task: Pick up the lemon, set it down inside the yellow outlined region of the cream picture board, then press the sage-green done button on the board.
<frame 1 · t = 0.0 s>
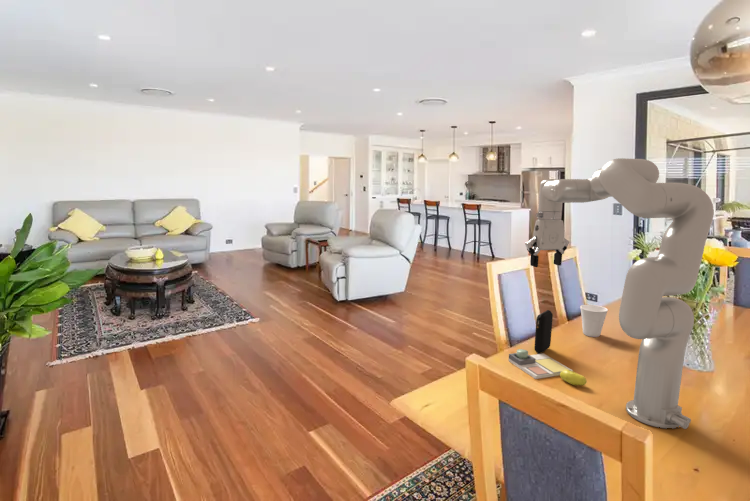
hand: (545, 265, 149), 31 cm above the table, tool pointing down, fingers open, 9 cm apart
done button: (522, 354, 143), point 3 cm above the table, slide at 0.0 cm
cup: (591, 335, 171), on the table
picture board: (539, 366, 141), on the table
carrying case or bag: (541, 352, 153), on the table
lemon: (572, 384, 130), on the table
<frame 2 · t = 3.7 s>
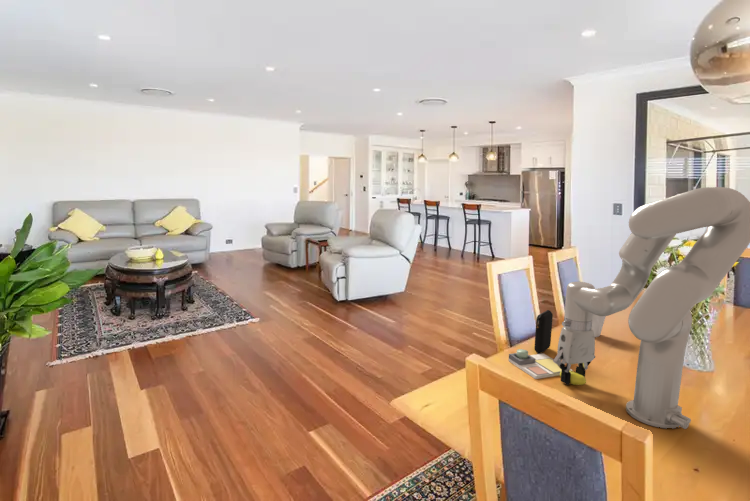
hand: (572, 381, 130), 1 cm above the table, tool pointing down, fingers closed on lemon, 4 cm apart
lemon: (572, 383, 130), on the table, touching gripper
everything else where it was.
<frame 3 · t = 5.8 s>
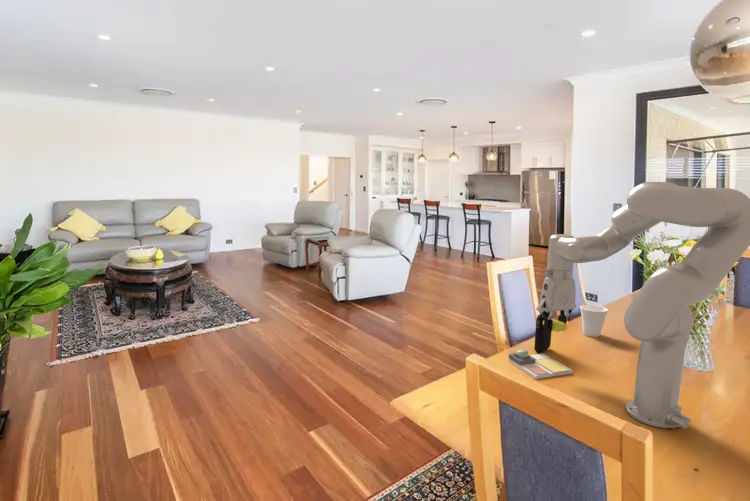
hand: (554, 328, 137), 14 cm above the table, tool pointing down, fingers closed on lemon, 4 cm apart
lemon: (554, 331, 138), point 13 cm above the table, touching gripper
everything else where it was.
when the fingers open (3 cm above the table, at t = 8.0 s): lemon drops 1 cm, resting on picture board.
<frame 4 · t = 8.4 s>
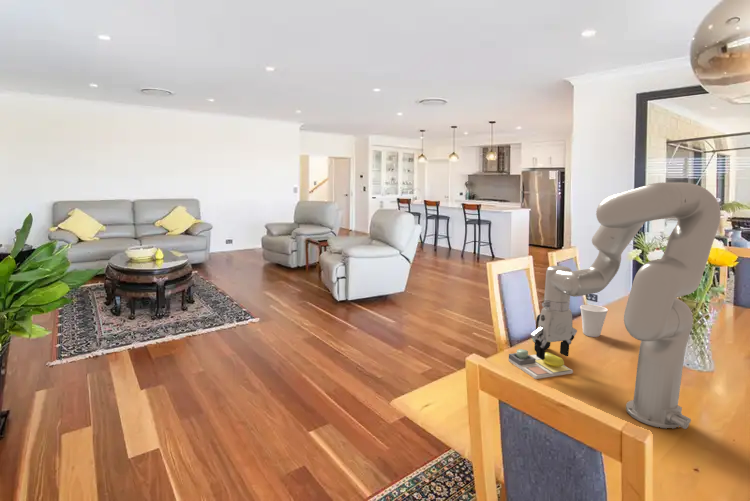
hand: (552, 356, 139), 4 cm above the table, tool pointing down, fingers open, 8 cm apart
lemon: (551, 365, 140), point 1 cm above the table, touching picture board
everything else where it was.
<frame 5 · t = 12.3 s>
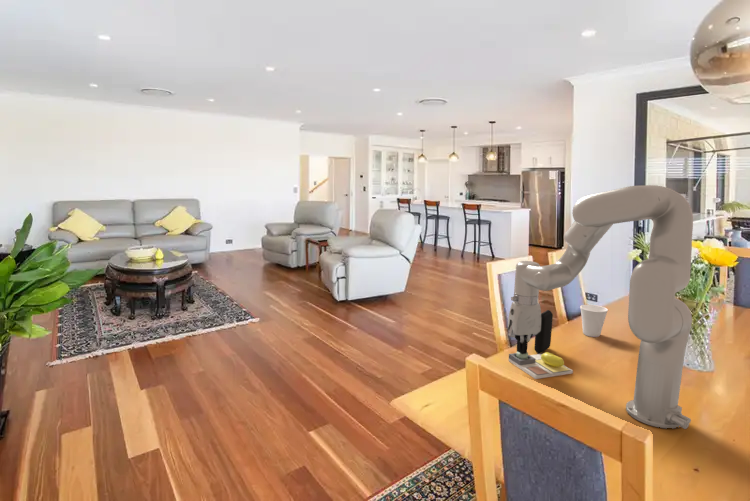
hand: (521, 352, 143), 4 cm above the table, tool pointing down, fingers closed
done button: (522, 355, 143), point 3 cm above the table, slide at 0.5 cm, touching gripper
everything else where it was.
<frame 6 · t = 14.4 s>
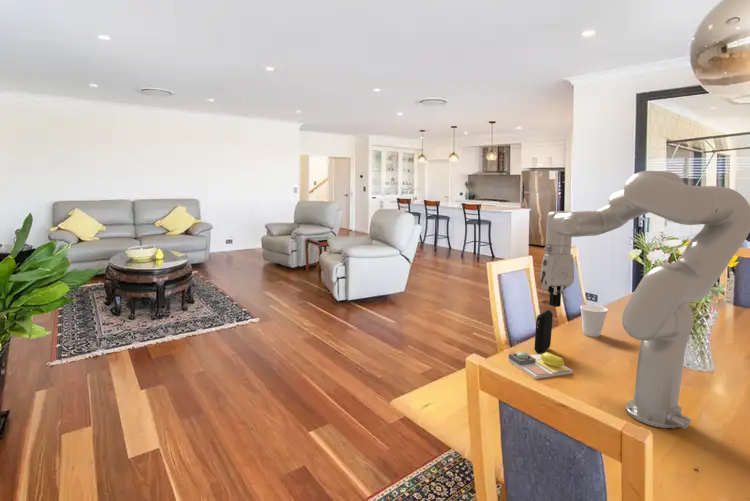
hand: (554, 305, 140), 20 cm above the table, tool pointing down, fingers closed
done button: (522, 356, 143), point 2 cm above the table, slide at 0.9 cm
everything else where it was.
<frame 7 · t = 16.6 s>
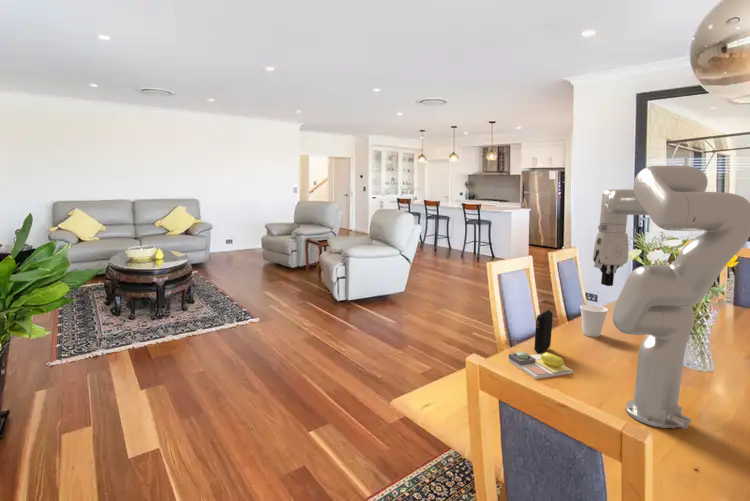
hand: (606, 284, 139), 27 cm above the table, tool pointing down, fingers closed
nothing on the table moved.
at the end: lemon inside the target area (0.1 cm from its centre), point 0.9 cm above the table; the gripper is holding nothing; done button slide at 0.9 cm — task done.
